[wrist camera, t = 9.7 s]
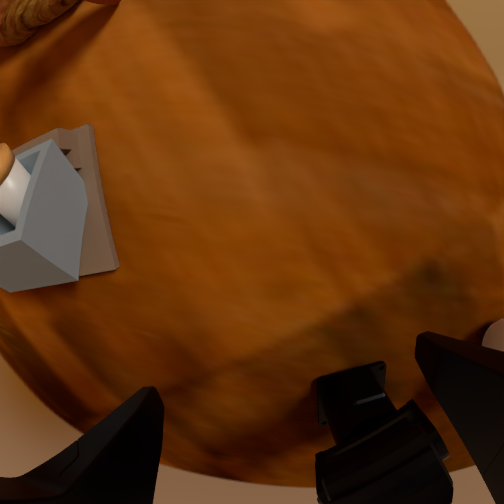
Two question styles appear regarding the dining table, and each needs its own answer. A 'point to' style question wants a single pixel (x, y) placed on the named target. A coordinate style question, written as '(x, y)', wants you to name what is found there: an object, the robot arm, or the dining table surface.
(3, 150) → the orange-topped white peg
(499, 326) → the sauce bottle
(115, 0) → the carrot
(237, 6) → the dining table surface
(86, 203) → the leaning socket
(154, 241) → the dining table surface
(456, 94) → the dining table surface
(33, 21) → the croissant
